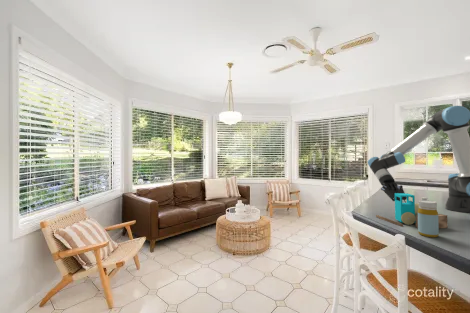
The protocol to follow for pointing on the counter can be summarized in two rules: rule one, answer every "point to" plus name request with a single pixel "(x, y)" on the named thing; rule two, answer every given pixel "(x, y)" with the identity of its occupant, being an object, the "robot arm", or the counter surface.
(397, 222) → the rail far
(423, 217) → the bottle
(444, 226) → the buffer stop
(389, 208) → the counter surface
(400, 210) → the toy train
